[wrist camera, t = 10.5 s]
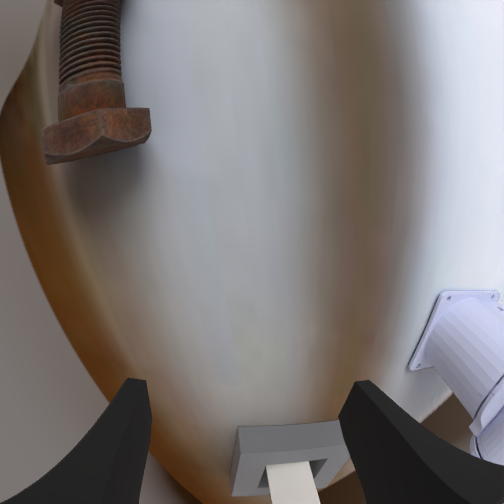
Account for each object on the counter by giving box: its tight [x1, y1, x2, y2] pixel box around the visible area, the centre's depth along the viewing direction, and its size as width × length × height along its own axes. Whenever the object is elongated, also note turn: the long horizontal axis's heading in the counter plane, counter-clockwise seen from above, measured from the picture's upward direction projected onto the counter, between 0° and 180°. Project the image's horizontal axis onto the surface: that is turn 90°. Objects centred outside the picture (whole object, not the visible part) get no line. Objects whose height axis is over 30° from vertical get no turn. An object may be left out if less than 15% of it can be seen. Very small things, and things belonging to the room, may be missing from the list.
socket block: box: [230, 420, 350, 496], centre depth 24 cm, size 11×11×3 cm
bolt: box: [42, 0, 152, 165], centre depth 10 cm, size 6×5×15 cm
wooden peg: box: [266, 461, 320, 504], centre depth 22 cm, size 4×4×8 cm
